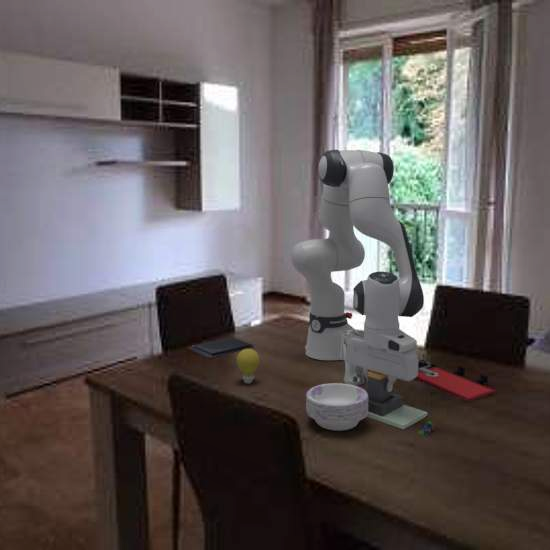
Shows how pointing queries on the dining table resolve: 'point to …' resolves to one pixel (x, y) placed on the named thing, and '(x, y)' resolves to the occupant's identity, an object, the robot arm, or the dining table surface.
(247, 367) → the light bulb
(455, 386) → the red board with handle
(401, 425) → the board
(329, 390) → the paper bowls
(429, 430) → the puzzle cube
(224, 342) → the wallet
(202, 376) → the dining table surface
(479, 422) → the dining table surface
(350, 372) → the beer glass
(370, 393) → the plug
